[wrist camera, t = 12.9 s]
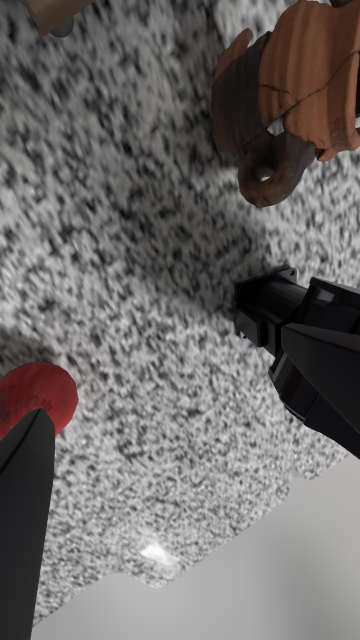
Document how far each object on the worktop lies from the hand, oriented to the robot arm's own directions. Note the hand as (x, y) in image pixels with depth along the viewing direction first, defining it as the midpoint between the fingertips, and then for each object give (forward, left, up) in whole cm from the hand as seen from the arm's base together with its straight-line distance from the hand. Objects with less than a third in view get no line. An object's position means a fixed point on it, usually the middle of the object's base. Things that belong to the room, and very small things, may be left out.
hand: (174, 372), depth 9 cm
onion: (+10, +6, -13) cm, 18 cm away
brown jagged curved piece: (-12, -9, -13) cm, 20 cm away
